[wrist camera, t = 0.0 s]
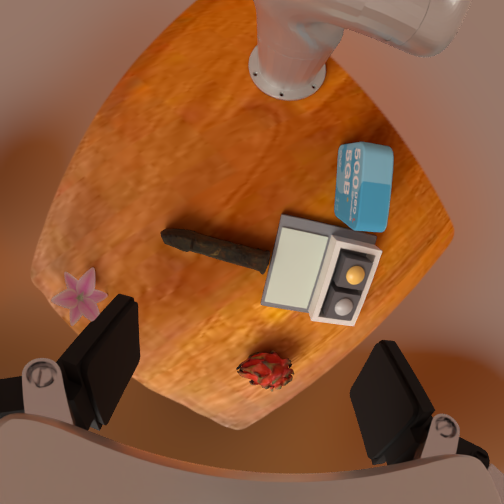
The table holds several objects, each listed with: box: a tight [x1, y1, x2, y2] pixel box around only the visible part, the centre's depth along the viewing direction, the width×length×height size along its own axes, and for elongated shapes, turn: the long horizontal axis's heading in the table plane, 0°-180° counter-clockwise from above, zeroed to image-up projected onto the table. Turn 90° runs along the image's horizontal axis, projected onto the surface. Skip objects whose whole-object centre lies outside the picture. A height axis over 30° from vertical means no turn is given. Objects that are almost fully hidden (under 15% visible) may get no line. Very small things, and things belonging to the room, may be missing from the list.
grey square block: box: [322, 284, 361, 320], centre depth 45 cm, size 5×5×3 cm
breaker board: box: [261, 214, 382, 326], centre depth 46 cm, size 17×18×4 cm
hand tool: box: [161, 229, 270, 274], centre depth 45 cm, size 19×4×5 cm, turn 71°
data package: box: [334, 142, 394, 232], centre depth 37 cm, size 12×4×12 cm, turn 178°
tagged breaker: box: [332, 252, 373, 291], centre depth 43 cm, size 5×5×3 cm
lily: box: [51, 267, 108, 326], centre depth 48 cm, size 12×12×10 cm
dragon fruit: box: [236, 350, 294, 391], centre depth 52 cm, size 8×8×12 cm
